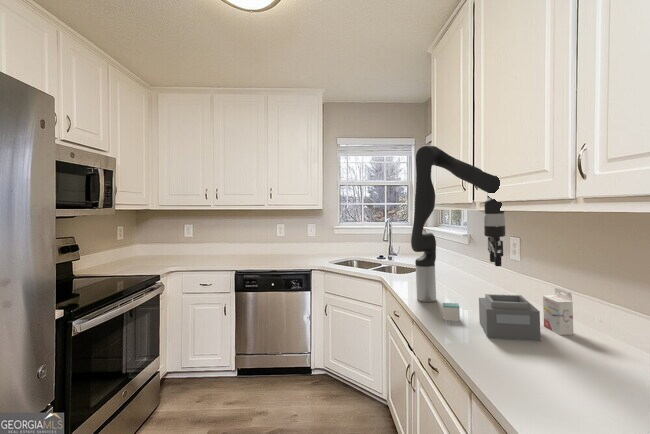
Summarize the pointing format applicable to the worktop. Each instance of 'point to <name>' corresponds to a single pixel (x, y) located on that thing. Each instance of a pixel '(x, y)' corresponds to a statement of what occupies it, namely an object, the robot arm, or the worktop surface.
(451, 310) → the block
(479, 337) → the worktop surface
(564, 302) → the ink cartridge box
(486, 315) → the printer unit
